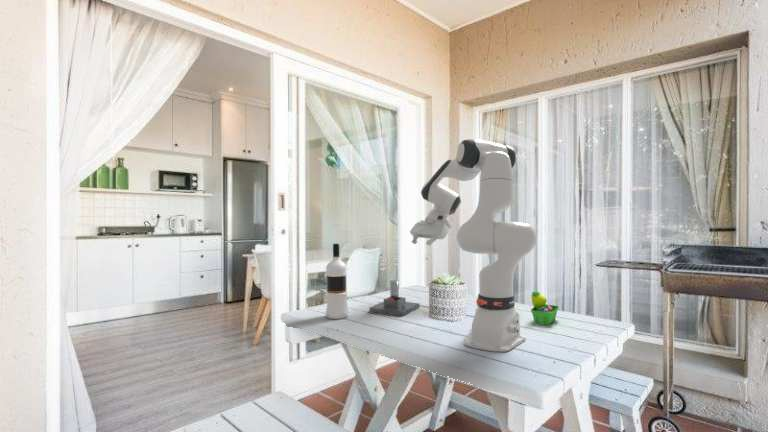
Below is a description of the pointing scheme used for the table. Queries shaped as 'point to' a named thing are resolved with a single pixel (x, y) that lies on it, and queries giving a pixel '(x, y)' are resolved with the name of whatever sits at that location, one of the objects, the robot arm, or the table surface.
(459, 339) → the table surface
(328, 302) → the vodka
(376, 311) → the stand base
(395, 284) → the column
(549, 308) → the fruit basket
